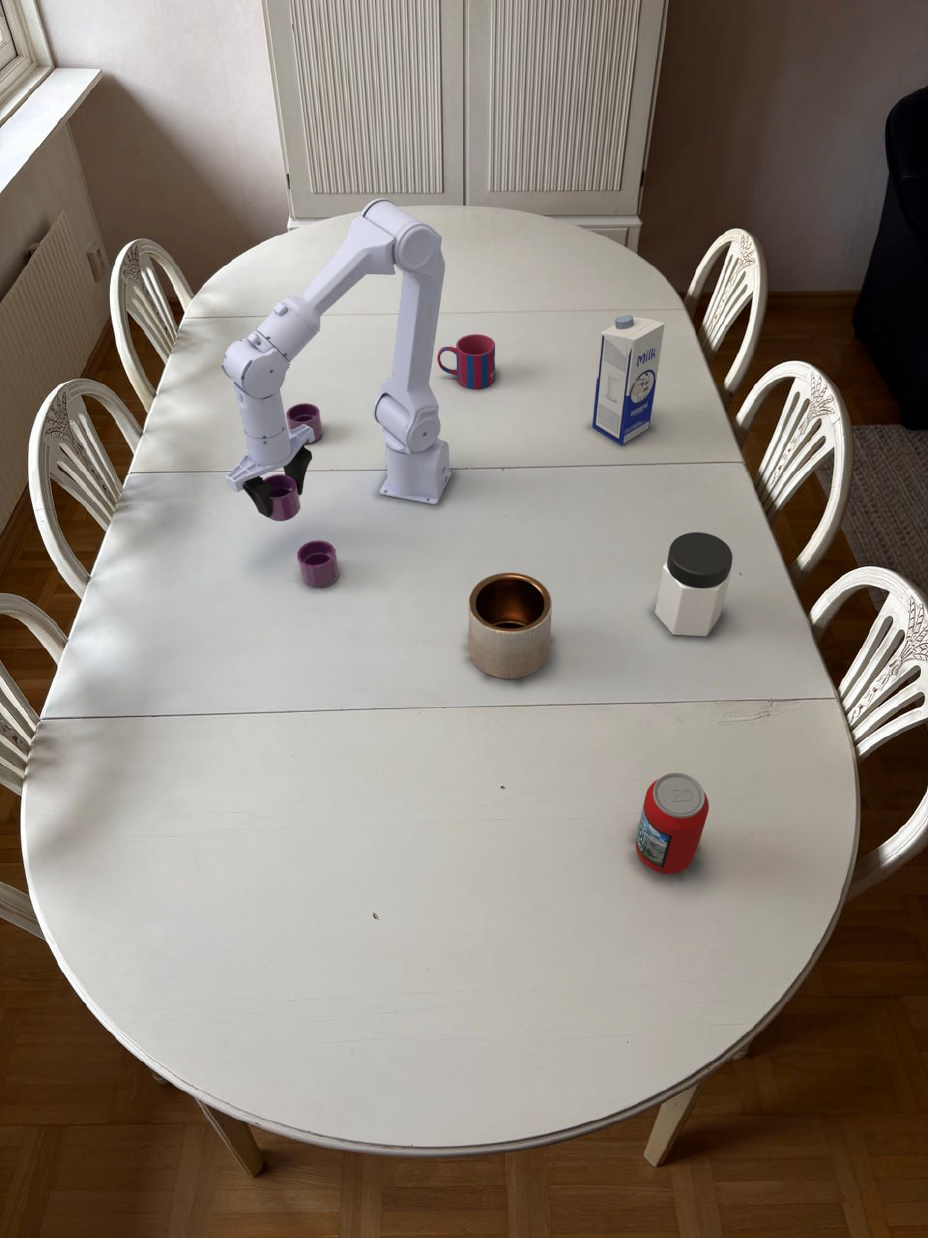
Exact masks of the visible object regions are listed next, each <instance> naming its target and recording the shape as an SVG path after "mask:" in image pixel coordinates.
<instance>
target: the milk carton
mask: <svg viewBox="0 0 928 1238" xmlns="http://www.w3.org/2000/svg"><path fill="white" fill-rule="evenodd" d="M614 323H615V324H614V325H612V326H610V327H608V328H606V329H605V330H603V331H601V332H600V341H599V352H598V362H597V375H596V382H595V394H594V402H593V403H594V404H593V416H592V424H591V428H592V429H594V430H595V431H597V432H598V433H600V434H601V435H603V436H605V437H606V438H608V439H610V440H611V441H613V442H615V443H616V444H617V445H619V446H621V447H622V446H624V445H626V444H628V443H629V442H631V441H632V440H633V439H635V438H637V437H638V436H640V435H642V434H644V433H645V432H648V431H649V430H650V425H651V419H652V414H653V413H652V411H653V406H654V398H655V392H656V385H657V379H658V372H659V365H660V358H661V352H662V345H663V339H664V331H665V325H666V323H665V322H662V321H659V320H657V319H651V318H646V317H645V318H644V317H638V316H633V315H621V316H618V317H617V318H615V319H614Z"/></svg>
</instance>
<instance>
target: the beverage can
mask: <svg viewBox="0 0 928 1238" xmlns="http://www.w3.org/2000/svg"><path fill="white" fill-rule="evenodd" d="M709 809H710V803H709V800H708V797H707V794H706V792H705V791H704V788H703V787H702V785H701V784H700V782H699V781H698V780H697V779H695V778H694V777H692V776H691V775H688V774H686V773H684V772H683V773H682V772H670V773H669V772H668V773H666V774H664V775H662V776H661V777H660V778H658V779H656V780H655V781H653V782H652V783H651V784H650V785H649V787H648V788H647V789H646V793H645V796H644V800H643V804H642V808H641V814H640V817H639V823H638V828H637V834H636V839H635V849H636V853H637V856H638V858H639V859H640V861H641V862H642V863H643V864H644V865H645V866H646V867H647V868H649V869H651V870H652V871H654V872H656V873H660V874H664V875H672V874H679V873H681V872H683V871H685V870H686V869H687V868H689V866H690V865H691V864H692V863H693V861H694V859H695V857H696V853H697V850H698V848H699V845H700V841H701V837H702V834H703V831H704V828H705V825H706V821H707V817H708V814H709Z"/></svg>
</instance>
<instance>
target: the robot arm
mask: <svg viewBox="0 0 928 1238" xmlns="http://www.w3.org/2000/svg"><path fill="white" fill-rule="evenodd" d="M442 240H443V236H442V235H441V234H440V233H438V232H437V231H436V230H435V229H434V227H432V226H431V225H430V224H428V223H427V222H424V221H421V220H420V219H418V218H416V217H415V216H413V215H412V214H410V213H409V212H407V211H406V210H404V209H402V208H400V207H399V206H398V205H397V204H396V203H394V202H393V201H392V200H391V199H388V198H385V197H380V198H375V199H373V200H371V201H369V202H368V203H367V204H366V205H365V206H364V208H363V209H362V211H361V212H360V214H358V215H357V216H356V217H355V218H353V219H352V221H351V223H350V226H349V230H348V235H347V238H346V239H345V240H344V242H343V243H342V244H341V246H340V247H339V248H338V249H337V251H336V252H335V253H334V254H333V256H332V257H330V259H329V260H328V261H327V263H326V264H325V265H324V267H322V269H321V270H320V271H319V273H318V274H317V275H316V276H315V278H314V279H313V280H312V282H311V283H310V284H309V285H308V287H306V289H305V290H304V291H303V292H302V293H301V295H294V296H292V295H291V296H286V297H285V298H284V299H283V300H282V301H278V302H277V303H276V304H275V305H274V306H273V308H272V311H271V313H270V314H269V315H268V316H267V317H266V318H265V319H264V320H263V321H262V322H261V323H260V324H259V326H258V327H257V328H256V329H255V330H254V331H253V332H251V333H250V334H249V335H248V336H247V338H241V339H238V340H235V341H234V342H232V343H231V344H230V345H229V346H228V348H227V349H226V351H225V354H224V357H223V363H221V364H220V367H221V368H220V369H221V370H222V372H223V374H225V375H226V376H227V377H228V379H230V380H232V381H233V383H232V384H233V388H234V393H235V396H236V403H237V406H238V411H239V416H240V421H241V425H242V430H243V433H244V438H245V442H246V448H247V451H246V452H245V454H244V455H243V457H242V458H241V459H240V461H238V462H237V464H236V466H235V467H234V468H233V469H232V470H231V471H230V472H229V473H227V475H225V480H226V483H227V487H228V488H229V489H231V490H233V491H234V492H236V493H240V492H241V491H242V490H244V491H245V493H246V494H247V495H248V496H249V498H250V500H251V501H252V502H253V503H254V505H255V507H256V509H257V511H258V513H259V514H261V515H262V516H264V517H266V518H267V519H270V518H269V517H271V516H272V508H271V503H270V489H271V486H272V485H270V484H268V483H266V482H265V481H263V480H264V478H263V477H261V476H263V475H265V474H268V473H271V472H274V471H276V470H279V469H283V471H284V475H289V476H291V477H292V478H294V479H295V481H296V483H297V487H298V493H299V497H300V496H301V495H303V490H304V485H305V484H304V483H305V477H306V473H307V470H308V468H309V465H310V463H311V461H312V460H313V453H312V451H311V450H309V449H308V448H306V447H305V444H304V443H306V442H308V443H309V444H312V443H314V442H313V441H314V440H315V436H314V430H313V429H312V428H310V427H308V426H307V425H305V424H303V425H301V426H300V427H297V428H295V429H293V430H290V431H289V428H288V423H287V418H286V414H285V409H284V408H285V407H284V403H283V398H282V394H281V389H282V386H283V385H284V382H285V380H286V374H287V371H288V370H289V369H290V366H291V362H292V361H293V360H294V359H295V358H296V357H297V356H298V354H299V353H301V351H302V350H303V349H304V348H305V347H306V346H307V345H308V344H309V343H310V342H311V341H312V340H313V339H314V338H315V337H316V335H317V334H318V333H319V332H320V330H321V317H322V315H323V314H325V312H327V311H328V310H329V309H331V307H332V306H333V305H334V304H335V303H337V302H338V301H339V300H340V299H341V298H342V297H343V296H344V295H346V293H347V292H349V291H350V290H351V289H352V288H353V287H354V286H356V284H358V283H359V281H361V280H362V279H363V278H364V277H365V276H367V275H380V276H381V275H383V276H384V275H385V276H394V275H396V270H395V267H396V268H397V269H398V270H399V271H400V272H401V274H402V281H401V288H400V289H401V290H400V299H399V309H398V317H397V325H396V335H395V343H394V352H393V362H392V370H391V377H389V378H387V379H385V380H383V381H381V383H380V386H379V387H380V388H379V393H378V396H377V398H376V399H375V400H374V404H373V407H372V416H373V419H374V420H375V422H376V423H378V424H379V425H381V429H382V433H383V440H384V441H383V442H384V452H385V462H386V471H387V477H386V478H385V480H384V482H383V484H382V485H381V487H380V489H379V494H380V495H381V496H382V495H383V496H388V497H393V498H397V499H402V500H408V501H415V502H418V503H424V504H429V505H434V506H435V505H437V504H438V503H439V501H440V499H441V497H442V495H443V492H445V488H446V486H447V484H448V482H449V480H450V478H451V476H452V472H451V471H450V470H451V468H450V447H449V443H448V441H445V440H443V439H440V438H439V435H440V433H441V426H442V425H441V420H440V418H439V408H440V405H439V403H438V400H437V398H436V396H435V394H434V391H433V390H432V387H431V386H430V379H431V372H432V366H433V358H434V350H435V343H436V335H437V330H438V321H439V315H440V307H441V301H442V293H443V285H444V279H445V272H446V261H445V259H444V255H443V252H442V249H441V248H442ZM311 442H312V443H311Z"/></svg>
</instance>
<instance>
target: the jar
mask: <svg viewBox="0 0 928 1238" xmlns="http://www.w3.org/2000/svg"><path fill="white" fill-rule="evenodd" d="M732 564H733V551H732V549H731V548H730V546H729V545H728V543H726V541H724V540H723V539H721V538H720V537H718V536H716V535H713V534H710V533H707V532H700V531H699V532H698V531H693V532H688V533H684V534H681V535H678V536H677V537H675V539H674V540H673V541H672V542H671V543H670V546H669V550H668V555H667V560H666V562H665V563H664V564H663V567H662V572H661V576H660V583H659V588H658V593H657V597H656V598H657V599H656V604H655V605H656V606H655V609H654V614H655V616H657V618H658V619H659V620H660V622H661V623H662V624H663V625H664V626H665V627H666V628H667V630H668V631H669V632H670V633H671V635H673V636H692V637H707V636H708V635H709V633H710V632H711V630H712V629H713V627H714V626H715V624H716V623H717V621H718V620H719V618H720V617H721V615H722V610H723V607H724V603H725V599H726V595H727V591H728V587H729V584H730V580H731V576H732V572H733V568H732Z"/></svg>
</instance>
